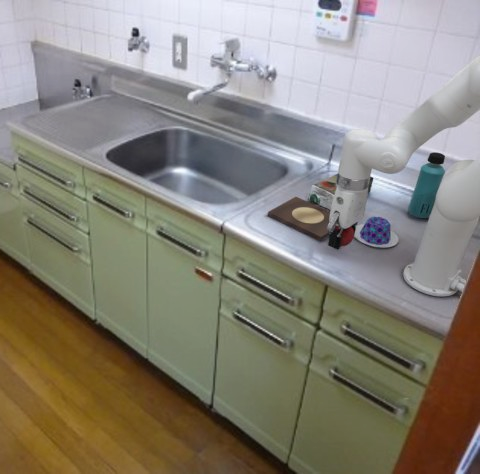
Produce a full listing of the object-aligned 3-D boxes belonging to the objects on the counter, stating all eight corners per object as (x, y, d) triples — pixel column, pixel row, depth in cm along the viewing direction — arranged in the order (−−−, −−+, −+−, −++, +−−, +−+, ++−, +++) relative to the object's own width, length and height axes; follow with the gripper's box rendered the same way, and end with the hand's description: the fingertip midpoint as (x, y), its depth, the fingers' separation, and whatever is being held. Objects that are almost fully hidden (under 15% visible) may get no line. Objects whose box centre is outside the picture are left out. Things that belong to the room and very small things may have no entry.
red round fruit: (352, 253, 136) (358, 227, 132) (329, 251, 137) (334, 225, 133) (350, 241, 141) (355, 215, 137) (327, 239, 142) (332, 213, 138)
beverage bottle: (415, 224, 153) (436, 160, 142) (401, 212, 158) (419, 150, 147) (434, 221, 154) (456, 158, 143) (419, 210, 160) (439, 148, 149)
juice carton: (332, 213, 157) (336, 195, 153) (305, 201, 163) (309, 183, 160) (371, 194, 167) (375, 177, 164) (344, 183, 174) (348, 166, 170)
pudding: (344, 237, 146) (348, 221, 143) (364, 221, 153) (368, 205, 151) (386, 255, 139) (391, 238, 136) (404, 237, 147) (410, 221, 144)
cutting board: (347, 223, 152) (348, 218, 152) (320, 241, 144) (321, 236, 144) (295, 200, 163) (295, 196, 162) (267, 216, 155) (268, 211, 154)
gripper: (348, 197, 122) (335, 261, 131) (384, 174, 132) (370, 235, 141) (319, 186, 127) (309, 249, 136) (356, 165, 136) (345, 225, 146)
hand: (340, 241), depth 139 cm, fingers closed on red round fruit, 6 cm apart
